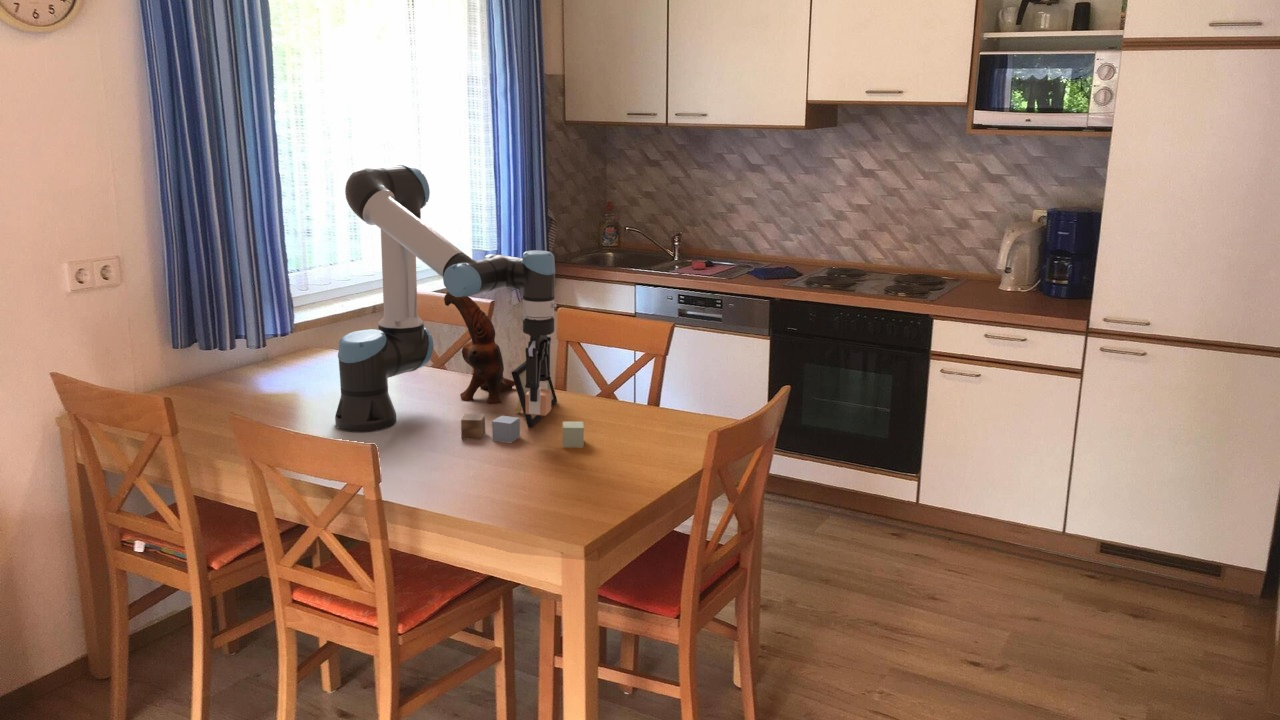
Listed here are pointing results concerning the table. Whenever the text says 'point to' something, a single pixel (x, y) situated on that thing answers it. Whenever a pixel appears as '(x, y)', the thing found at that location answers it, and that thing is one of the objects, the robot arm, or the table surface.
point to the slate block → (506, 429)
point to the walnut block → (473, 426)
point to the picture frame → (520, 383)
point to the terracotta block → (544, 402)
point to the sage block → (573, 434)
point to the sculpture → (481, 351)
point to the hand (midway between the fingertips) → (538, 409)
